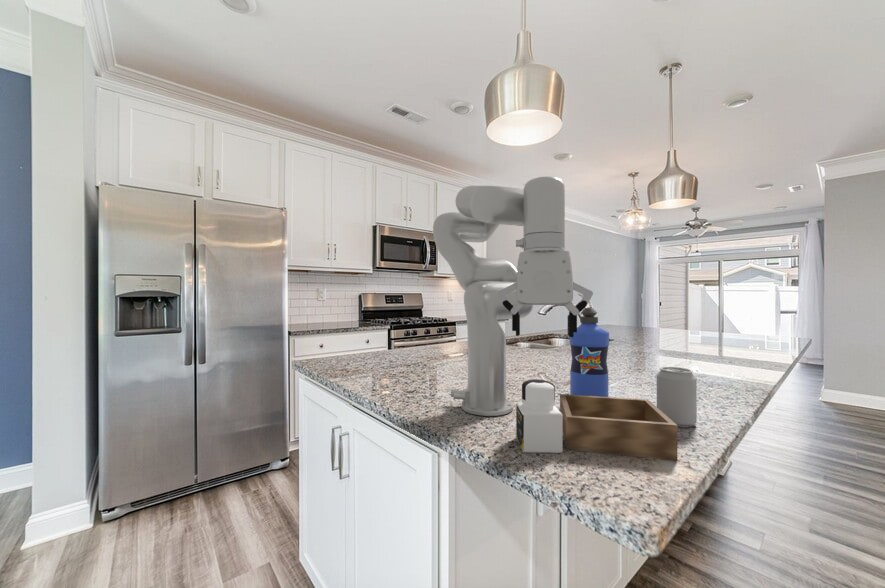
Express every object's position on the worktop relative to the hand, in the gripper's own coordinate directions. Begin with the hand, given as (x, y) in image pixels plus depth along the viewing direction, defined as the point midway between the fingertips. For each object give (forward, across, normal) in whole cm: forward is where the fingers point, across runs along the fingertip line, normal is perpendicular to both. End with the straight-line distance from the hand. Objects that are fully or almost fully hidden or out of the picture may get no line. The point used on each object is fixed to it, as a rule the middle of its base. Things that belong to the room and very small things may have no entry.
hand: (543, 335), depth 70 cm
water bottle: (+21, +12, +27) cm, 36 cm away
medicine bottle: (+21, -1, 0) cm, 21 cm away
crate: (+20, +13, +6) cm, 25 cm away
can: (+21, +29, +19) cm, 41 cm away
